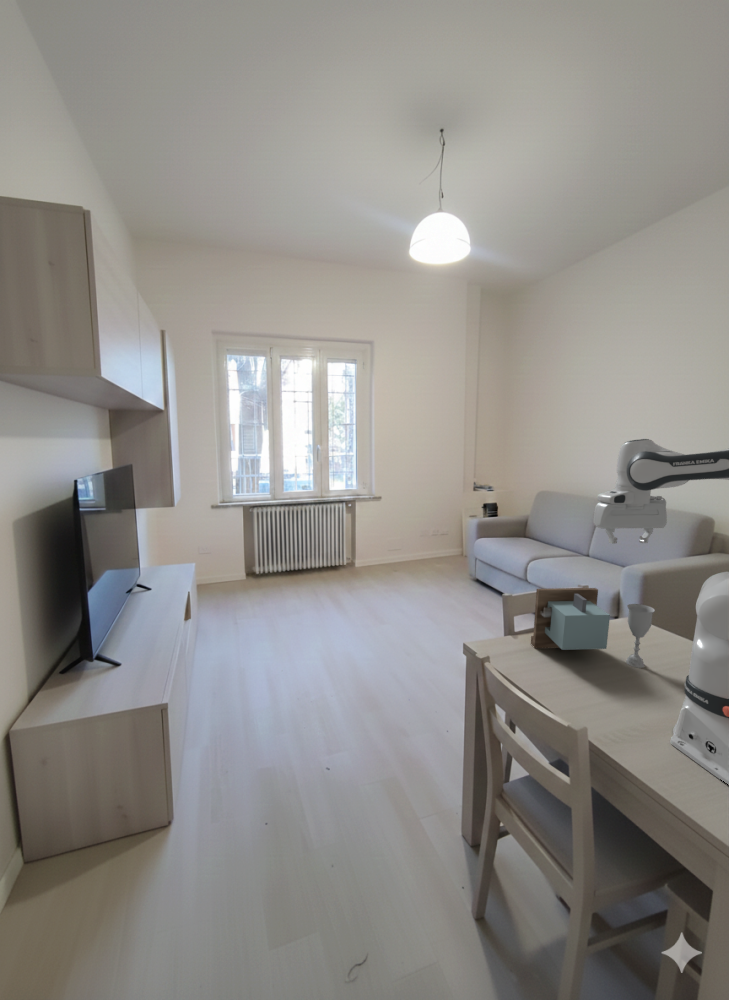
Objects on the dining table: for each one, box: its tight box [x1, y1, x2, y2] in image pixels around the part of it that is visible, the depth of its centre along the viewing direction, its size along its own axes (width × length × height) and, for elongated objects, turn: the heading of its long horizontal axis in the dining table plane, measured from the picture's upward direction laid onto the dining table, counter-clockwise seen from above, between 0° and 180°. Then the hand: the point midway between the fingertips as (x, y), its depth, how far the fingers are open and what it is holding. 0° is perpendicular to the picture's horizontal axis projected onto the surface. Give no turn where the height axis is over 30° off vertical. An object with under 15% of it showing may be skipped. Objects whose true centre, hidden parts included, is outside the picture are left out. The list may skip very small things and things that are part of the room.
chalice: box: [625, 603, 656, 669], centre depth 136 cm, size 7×7×18 cm
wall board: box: [530, 587, 599, 649], centre depth 146 cm, size 6×20×20 cm, turn 94°
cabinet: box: [545, 594, 611, 651], centre depth 140 cm, size 11×14×15 cm
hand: (628, 543), depth 130 cm, fingers open, 8 cm apart
